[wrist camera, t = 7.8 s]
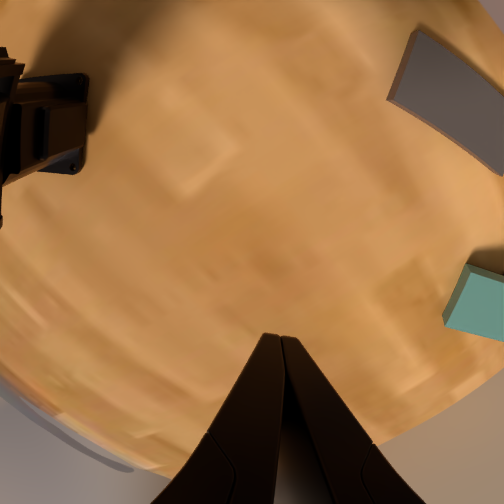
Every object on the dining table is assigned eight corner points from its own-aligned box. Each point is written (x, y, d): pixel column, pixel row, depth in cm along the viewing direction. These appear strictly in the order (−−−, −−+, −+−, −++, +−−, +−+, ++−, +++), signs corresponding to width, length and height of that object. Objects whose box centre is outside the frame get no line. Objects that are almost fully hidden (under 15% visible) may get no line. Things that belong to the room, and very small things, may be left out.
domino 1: (382, 99, 16) (393, 100, 14) (407, 34, 13) (419, 30, 12) (489, 170, 17) (502, 176, 16) (510, 114, 15) (523, 117, 13)
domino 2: (444, 326, 21) (527, 347, 18) (470, 272, 18) (554, 301, 16) (442, 315, 22) (523, 337, 19) (465, 263, 20) (547, 291, 17)
